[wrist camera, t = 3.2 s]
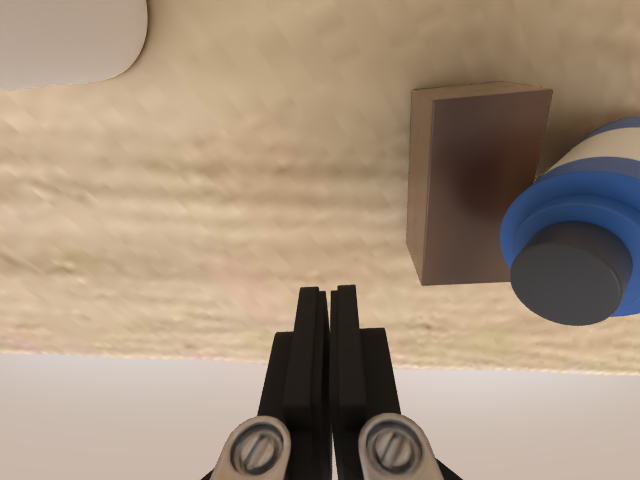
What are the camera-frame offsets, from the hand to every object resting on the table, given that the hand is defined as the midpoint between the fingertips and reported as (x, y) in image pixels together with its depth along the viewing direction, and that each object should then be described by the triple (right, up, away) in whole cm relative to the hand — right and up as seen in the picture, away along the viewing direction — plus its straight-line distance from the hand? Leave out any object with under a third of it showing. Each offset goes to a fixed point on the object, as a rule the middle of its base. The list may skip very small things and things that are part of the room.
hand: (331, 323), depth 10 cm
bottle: (+13, +7, +10) cm, 18 cm away
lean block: (+8, +7, +11) cm, 15 cm away
